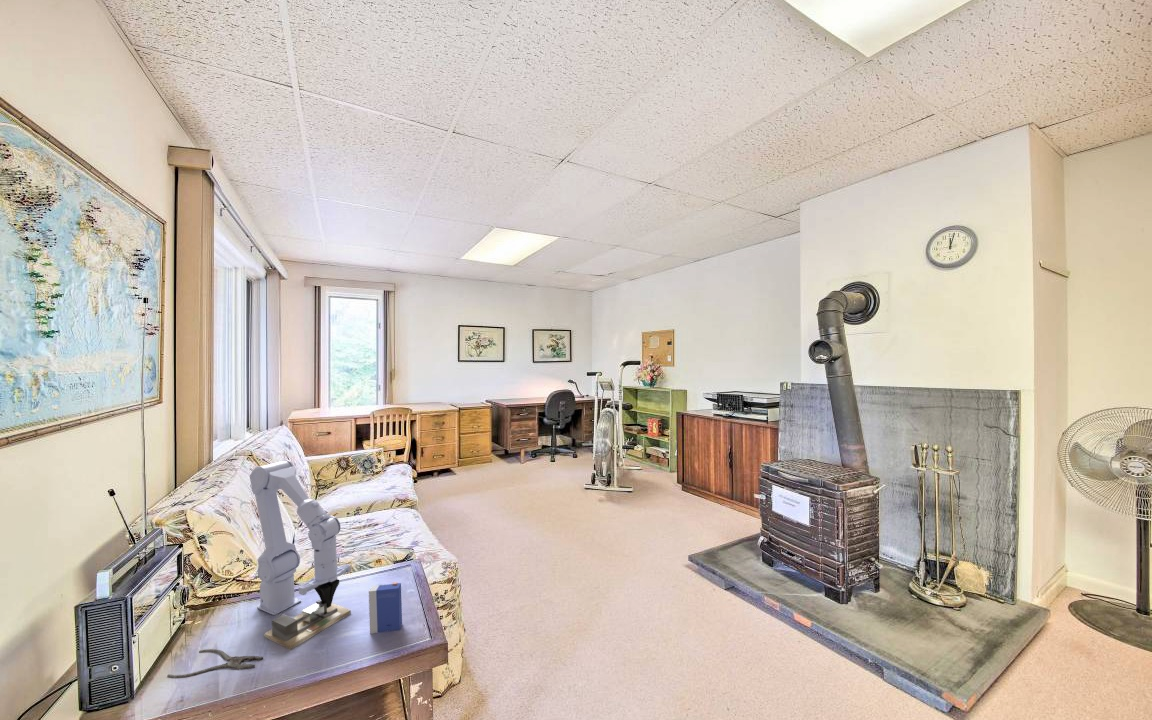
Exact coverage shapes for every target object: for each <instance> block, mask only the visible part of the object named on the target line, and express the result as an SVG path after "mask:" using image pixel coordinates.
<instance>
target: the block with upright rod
mask: <svg viewBox="0 0 1152 720" xmlns="http://www.w3.org/2000/svg"><path fill="white" fill-rule="evenodd" d="M301 613H302V618H303V621H306V622H308V623H311V622H313V621H314V620H316V619H318V618H320V617H321V618H324V616H323V615H325V614H327V603H325V602H323V601H321V599H320V600H319V599H318V600H317V601H315V603H313V604H311V605H310V606H308V607H306V608H304V609H302V612H301Z"/></svg>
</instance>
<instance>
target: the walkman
mask: <svg viewBox="0 0 1152 720" xmlns="http://www.w3.org/2000/svg"><path fill="white" fill-rule="evenodd" d="M402 605H403V603H402V583H401V582H399V583H398V582H392V583H391V584H380V585H372V586H371V588H369V590H368V608H369V609H368V610H369V611H368V612H369V613H368V615H369V634H378V633H385V632H393V631H400V630H401V627H402V626H403V613H402V612H403V611H402V610H403V608H402Z"/></svg>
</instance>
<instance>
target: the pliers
mask: <svg viewBox="0 0 1152 720" xmlns="http://www.w3.org/2000/svg"><path fill="white" fill-rule="evenodd" d="M198 653H199V654H200V653H215V654H218V655H219V656H221V658H222V659H223V660H224V661H226V662H225V663H222V664H218V665H214V666H211V667H208V668H205V669H201V670H198V671H193V672H190V673H185V674H184V673H183V674H171V673H169V674H167V676H166V677H167V678H171V679H174V678H175V679H180V678H189V677H194V676H197V675H201V674H204V673H208V672H212V671H215V670H221V669H231V670H238V671H239V669H241V670H245V669H247V670H248V669H253V668H255V667H256V664H253V663H246V662H245V661H248V662H252V661H262V660H264V656H257V655H243V656H231V655H229V654H227V653H226V652H224V651H223V650H220V649H217V648H216V649H214V648H208V649H200V650H198Z"/></svg>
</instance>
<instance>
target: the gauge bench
mask: <svg viewBox="0 0 1152 720" xmlns="http://www.w3.org/2000/svg"><path fill="white" fill-rule="evenodd" d="M351 613H352V610H351V609H350V608H346V607H344V606H342V605H338V604H335V603H333V602H332V604H331V606H330V607H329V608H327V614H325V615H323V616H324V618H321V617H320V618H318V619H316V620H314V621H313V622H311V623H308V622H306V621H303V618H302V612H301V613H300V614H297V615H296V616H294V617H291V616H289V615H286V614H284V613H283V614H281V615H279V616H277V617H275V618H274V619H272V620H271V629H270V630H268V631H266V632H265V633H264V638H265V639H268V640H270V641H272V642H275V643H276V644H278V645H280V646H282V647H285V648H286V649H288V650H293V649H294V648H295V647H297V646H298V645H301V644H303V642H306V641H307V640H309V639H310V638H312V637H314V636H316V635H317V634H319V633H321V632H322V631H324V630H326V629H328V628H329V627H330V626H331V625H334V624H336V623H337V622H339V621H340V620H343V619H344V618H345V617H347V616H349V615H351Z"/></svg>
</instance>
